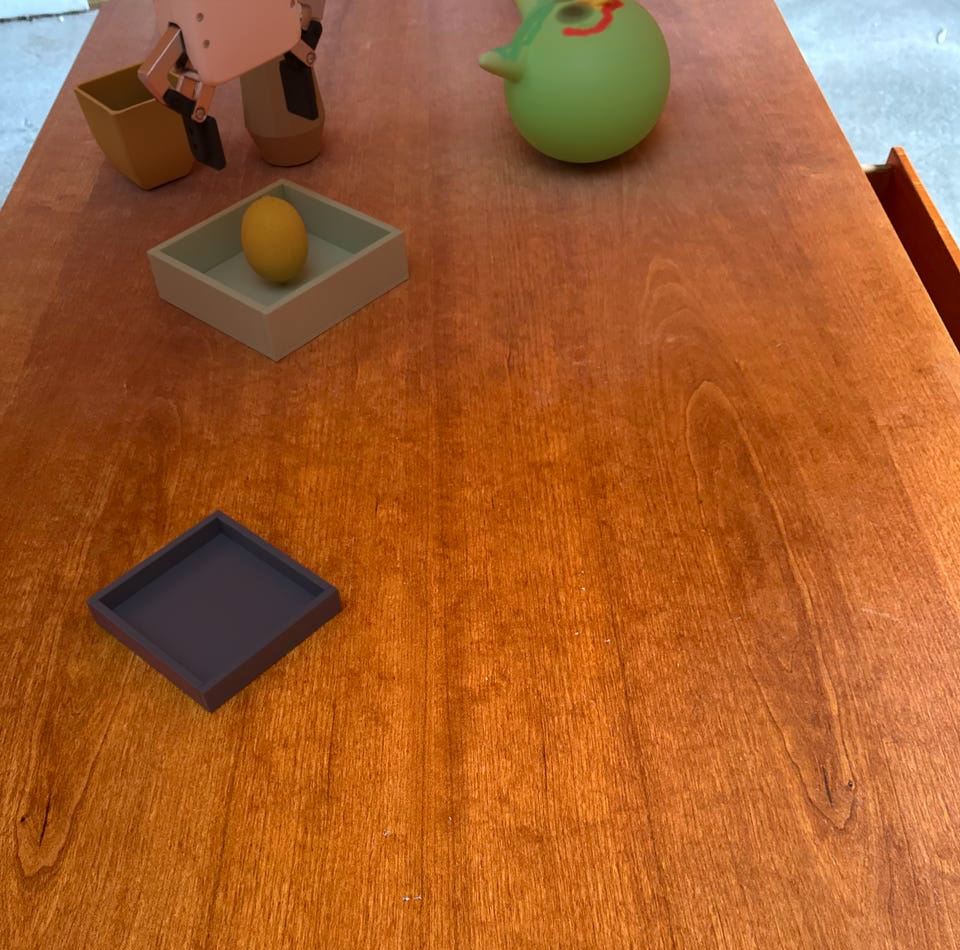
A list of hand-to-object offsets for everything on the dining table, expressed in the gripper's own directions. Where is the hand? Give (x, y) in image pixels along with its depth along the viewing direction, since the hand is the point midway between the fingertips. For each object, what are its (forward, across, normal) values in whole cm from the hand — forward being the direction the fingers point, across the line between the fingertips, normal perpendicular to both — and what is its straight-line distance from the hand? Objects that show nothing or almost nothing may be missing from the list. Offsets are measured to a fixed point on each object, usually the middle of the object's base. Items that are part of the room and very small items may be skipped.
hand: (258, 139), depth 94 cm
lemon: (+13, 0, 0) cm, 13 cm away
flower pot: (+13, -6, -26) cm, 30 cm away
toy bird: (+14, -34, +5) cm, 37 cm away
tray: (+13, +30, +26) cm, 41 cm away
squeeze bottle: (+14, -16, -18) cm, 28 cm away
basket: (+13, 0, 0) cm, 13 cm away
